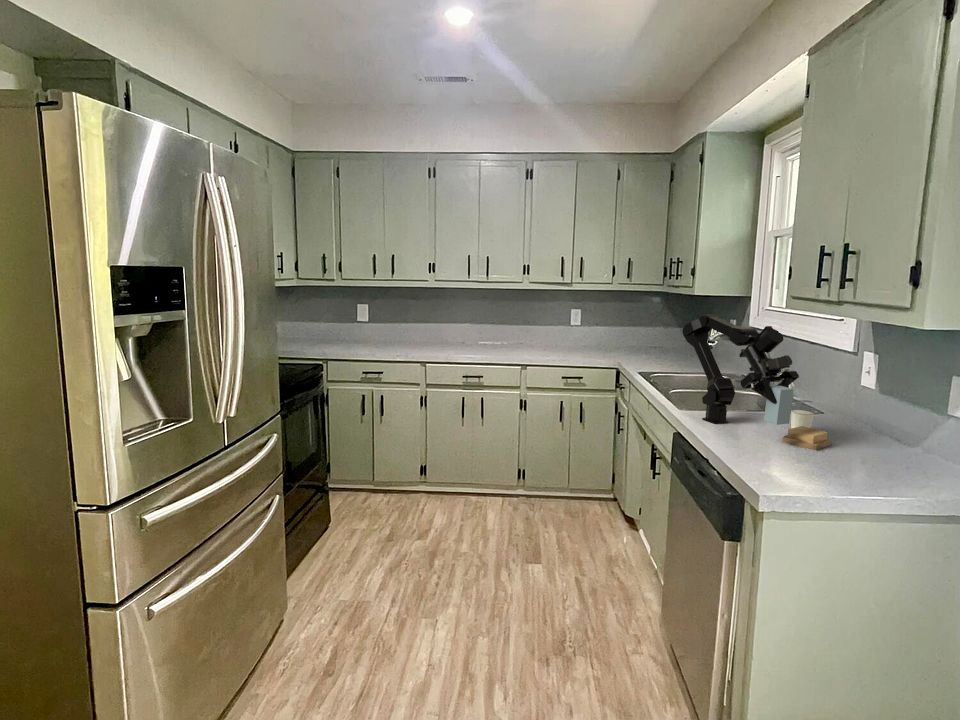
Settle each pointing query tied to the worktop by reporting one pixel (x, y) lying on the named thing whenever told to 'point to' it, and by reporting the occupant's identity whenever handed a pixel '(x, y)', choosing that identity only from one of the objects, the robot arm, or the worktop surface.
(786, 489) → the worktop surface
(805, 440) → the tower top
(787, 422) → the tall block
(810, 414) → the shot glass
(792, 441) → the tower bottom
